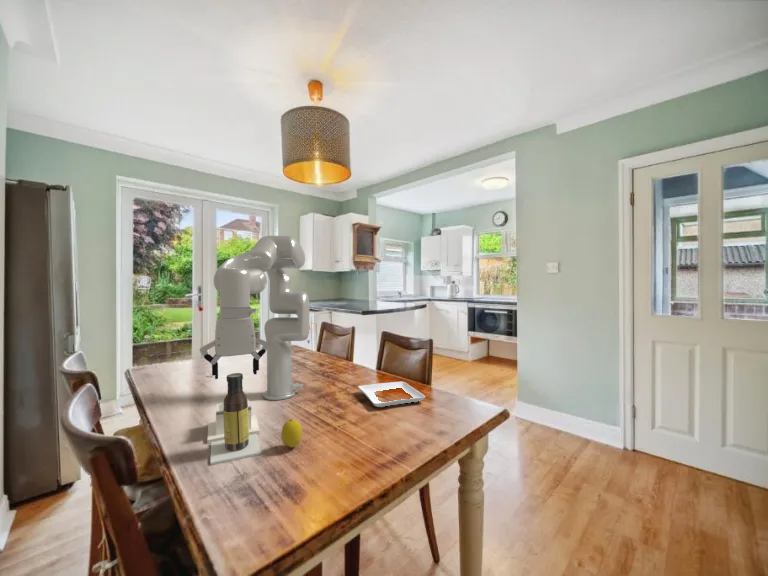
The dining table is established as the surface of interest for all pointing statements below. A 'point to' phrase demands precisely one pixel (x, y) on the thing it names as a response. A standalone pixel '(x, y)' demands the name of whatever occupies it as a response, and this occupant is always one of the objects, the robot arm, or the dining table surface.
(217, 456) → the mat
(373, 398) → the salad plate
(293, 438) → the lemon
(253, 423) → the caddy
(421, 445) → the dining table surface
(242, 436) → the sauce bottle
